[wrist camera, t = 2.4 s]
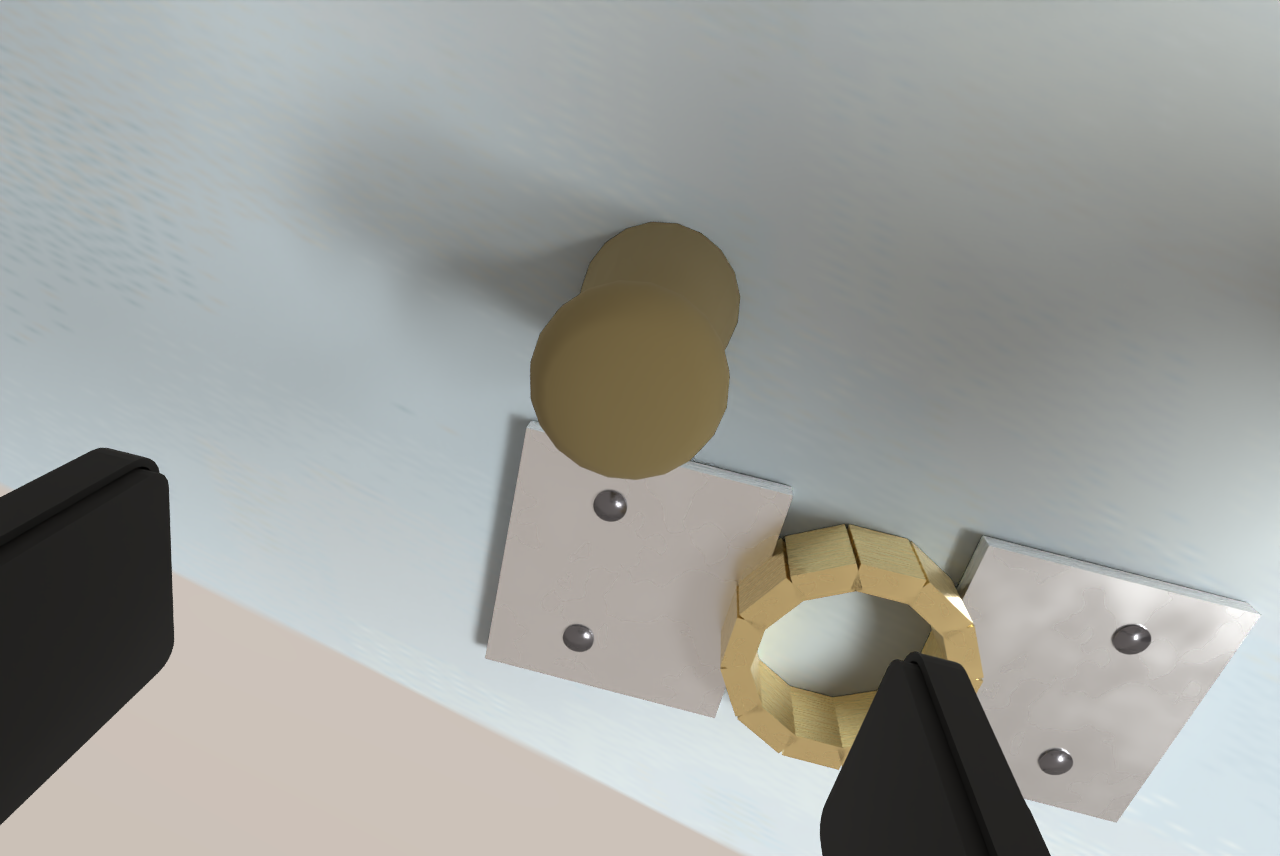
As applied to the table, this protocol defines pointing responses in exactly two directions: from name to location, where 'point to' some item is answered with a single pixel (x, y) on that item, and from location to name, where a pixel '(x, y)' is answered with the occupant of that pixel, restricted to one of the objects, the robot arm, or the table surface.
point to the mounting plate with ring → (835, 564)
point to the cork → (639, 354)
